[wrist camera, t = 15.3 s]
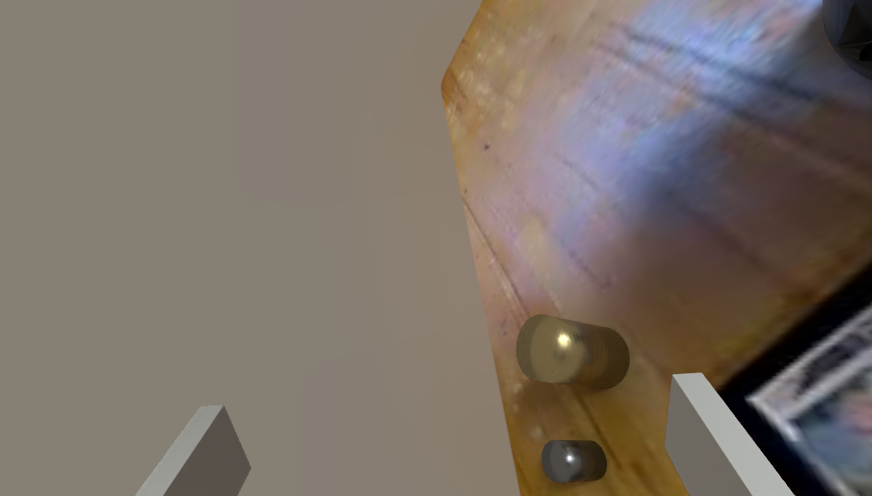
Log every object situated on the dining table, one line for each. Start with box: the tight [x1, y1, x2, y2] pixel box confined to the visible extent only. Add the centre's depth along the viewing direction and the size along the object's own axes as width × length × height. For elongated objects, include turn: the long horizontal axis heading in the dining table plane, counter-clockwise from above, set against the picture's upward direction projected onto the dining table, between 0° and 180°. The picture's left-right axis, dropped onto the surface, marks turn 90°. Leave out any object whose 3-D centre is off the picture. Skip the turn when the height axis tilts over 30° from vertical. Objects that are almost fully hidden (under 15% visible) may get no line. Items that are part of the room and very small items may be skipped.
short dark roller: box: [542, 440, 607, 482], centre depth 41 cm, size 4×4×5 cm
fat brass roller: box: [516, 315, 629, 388], centre depth 42 cm, size 6×6×9 cm
